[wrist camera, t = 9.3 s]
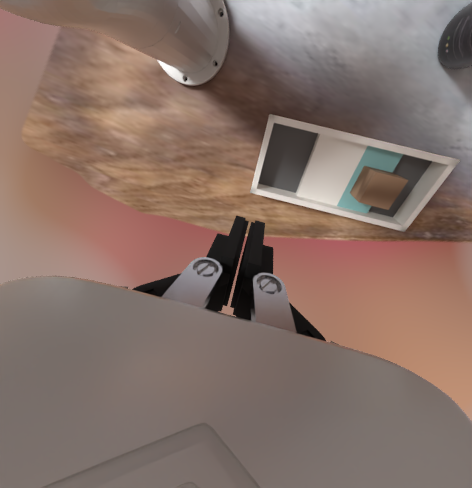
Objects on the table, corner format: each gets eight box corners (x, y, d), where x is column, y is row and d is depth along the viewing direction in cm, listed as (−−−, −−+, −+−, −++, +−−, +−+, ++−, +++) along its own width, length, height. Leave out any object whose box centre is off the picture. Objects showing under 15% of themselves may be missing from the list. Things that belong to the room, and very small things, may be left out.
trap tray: (270, 114, 35) (269, 113, 32) (442, 155, 34) (460, 160, 31) (252, 186, 42) (250, 192, 39) (394, 222, 41) (404, 231, 38)
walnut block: (364, 165, 35) (376, 172, 31) (392, 172, 35) (408, 180, 31) (349, 192, 38) (358, 202, 34) (375, 199, 38) (388, 209, 34)
